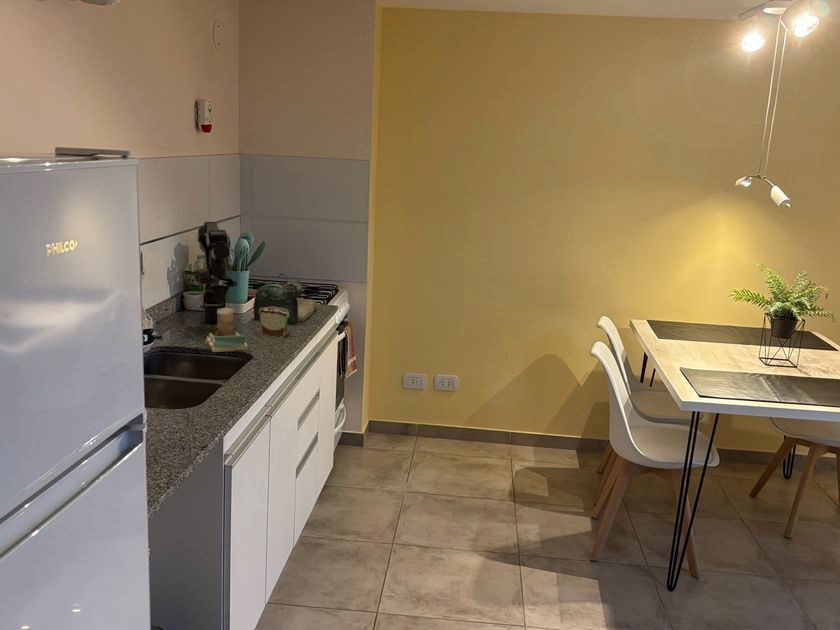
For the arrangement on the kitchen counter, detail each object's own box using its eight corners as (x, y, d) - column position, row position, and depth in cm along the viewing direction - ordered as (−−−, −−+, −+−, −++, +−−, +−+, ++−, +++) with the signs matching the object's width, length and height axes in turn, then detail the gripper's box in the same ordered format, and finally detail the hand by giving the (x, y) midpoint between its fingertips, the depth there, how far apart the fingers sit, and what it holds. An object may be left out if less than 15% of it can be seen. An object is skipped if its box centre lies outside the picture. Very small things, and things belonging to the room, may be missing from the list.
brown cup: (215, 336, 278) (215, 308, 276) (232, 335, 280) (232, 308, 278) (218, 340, 273) (218, 312, 270) (235, 339, 275) (235, 311, 273)
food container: (294, 334, 294) (295, 309, 292) (287, 338, 289) (287, 312, 286) (266, 330, 298) (266, 305, 296) (258, 333, 292) (258, 308, 290)
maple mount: (206, 340, 279) (206, 326, 278) (240, 338, 284) (240, 325, 283) (212, 351, 265) (212, 337, 264) (247, 350, 269) (247, 336, 268)
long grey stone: (283, 325, 315) (307, 327, 315) (284, 312, 313) (308, 315, 314) (297, 303, 349) (319, 305, 349) (298, 292, 347) (320, 294, 347)
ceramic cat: (302, 323, 314) (303, 274, 309) (296, 326, 307) (297, 277, 303) (257, 317, 318) (258, 270, 314) (250, 321, 312) (251, 272, 308)
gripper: (210, 267, 299) (212, 307, 299) (185, 262, 281) (187, 304, 280) (237, 265, 297) (238, 305, 296) (213, 259, 279) (214, 302, 278)
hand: (219, 304), depth 288 cm, fingers closed
